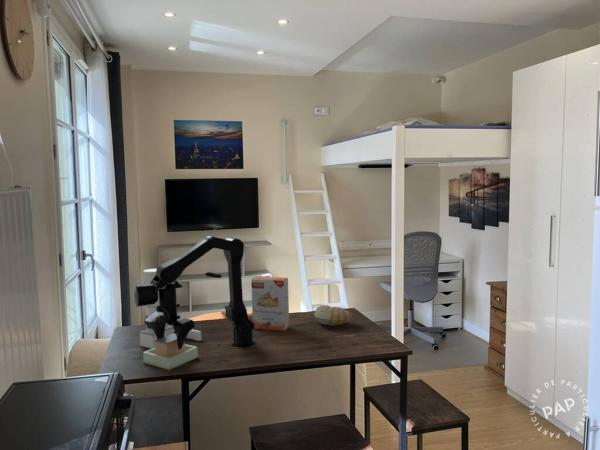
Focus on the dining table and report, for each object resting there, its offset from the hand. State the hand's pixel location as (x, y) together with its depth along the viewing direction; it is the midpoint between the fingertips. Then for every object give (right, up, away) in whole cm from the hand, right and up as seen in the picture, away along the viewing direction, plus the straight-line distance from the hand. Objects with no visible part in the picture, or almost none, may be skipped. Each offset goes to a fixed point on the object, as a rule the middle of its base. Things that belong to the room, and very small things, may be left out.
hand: (170, 346), depth 158 cm
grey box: (0, -4, 0) cm, 4 cm away
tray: (0, -5, 0) cm, 5 cm away
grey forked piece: (-3, -3, +19) cm, 20 cm away
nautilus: (+57, 0, +37) cm, 68 cm away
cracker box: (+32, -1, +32) cm, 45 cm away
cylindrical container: (-15, -2, +33) cm, 36 cm away
